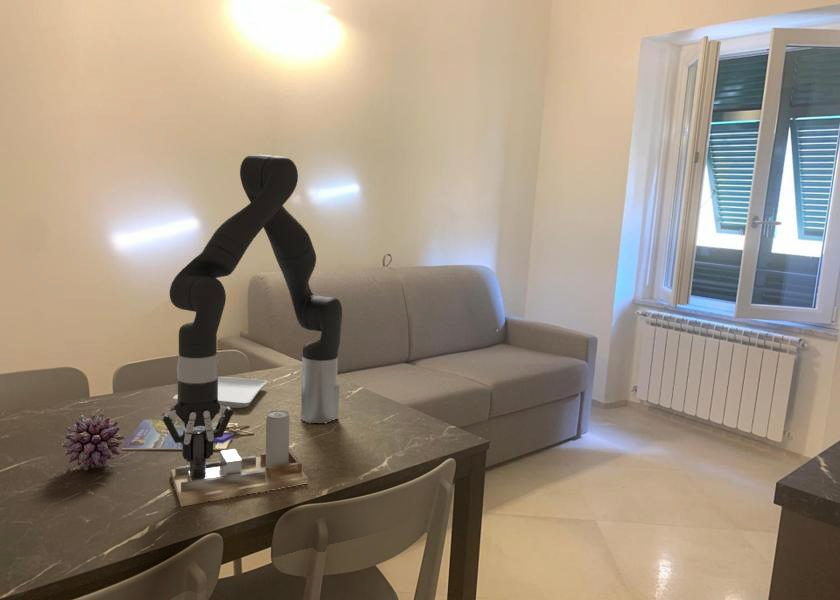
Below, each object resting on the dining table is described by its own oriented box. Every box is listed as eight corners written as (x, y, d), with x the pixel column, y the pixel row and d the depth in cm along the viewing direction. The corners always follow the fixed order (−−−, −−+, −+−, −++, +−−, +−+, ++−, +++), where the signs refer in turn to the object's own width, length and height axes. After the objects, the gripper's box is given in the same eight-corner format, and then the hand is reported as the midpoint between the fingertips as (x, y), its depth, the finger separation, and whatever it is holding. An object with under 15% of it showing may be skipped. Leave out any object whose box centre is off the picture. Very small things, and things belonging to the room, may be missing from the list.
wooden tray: (287, 458, 145) (288, 443, 145) (307, 484, 133) (308, 468, 133) (170, 476, 133) (170, 460, 133) (181, 506, 121) (180, 489, 121)
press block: (234, 466, 135) (235, 422, 134) (241, 478, 130) (241, 432, 129) (187, 473, 131) (187, 428, 129) (192, 486, 126) (192, 439, 124)
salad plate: (249, 413, 173) (249, 401, 173) (171, 409, 173) (171, 397, 173) (268, 390, 194) (268, 379, 193) (198, 385, 194) (198, 375, 194)
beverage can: (283, 473, 134) (284, 419, 132) (261, 470, 135) (262, 416, 133) (291, 464, 139) (293, 411, 137) (271, 461, 140) (272, 409, 138)
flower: (48, 472, 132) (46, 417, 130) (96, 452, 143) (95, 401, 141) (91, 484, 128) (89, 428, 126) (137, 462, 139) (136, 410, 137)
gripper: (162, 385, 119) (163, 472, 122) (238, 378, 126) (237, 460, 129) (157, 373, 125) (158, 456, 128) (230, 368, 132) (229, 446, 135)
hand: (198, 458), depth 128 cm, fingers closed on press block, 3 cm apart
